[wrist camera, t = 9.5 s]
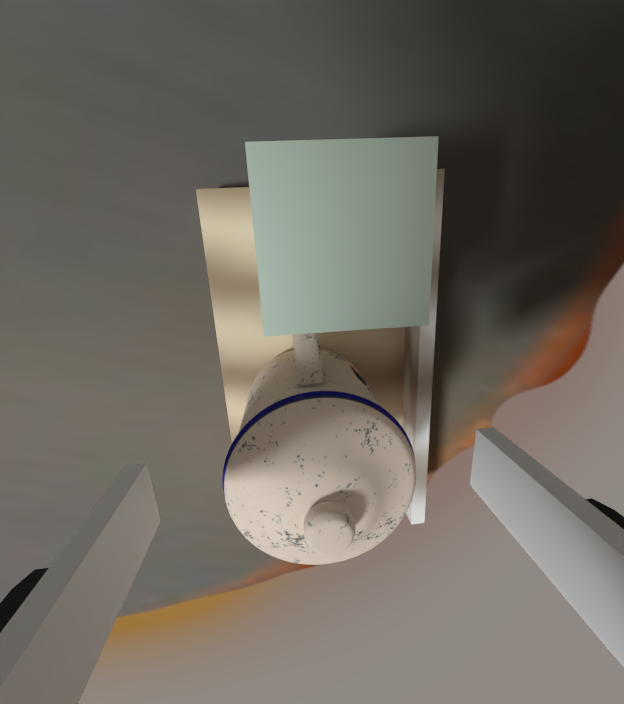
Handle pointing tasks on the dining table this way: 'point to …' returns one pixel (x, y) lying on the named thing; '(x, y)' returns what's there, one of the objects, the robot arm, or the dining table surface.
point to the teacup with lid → (317, 460)
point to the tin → (343, 232)
